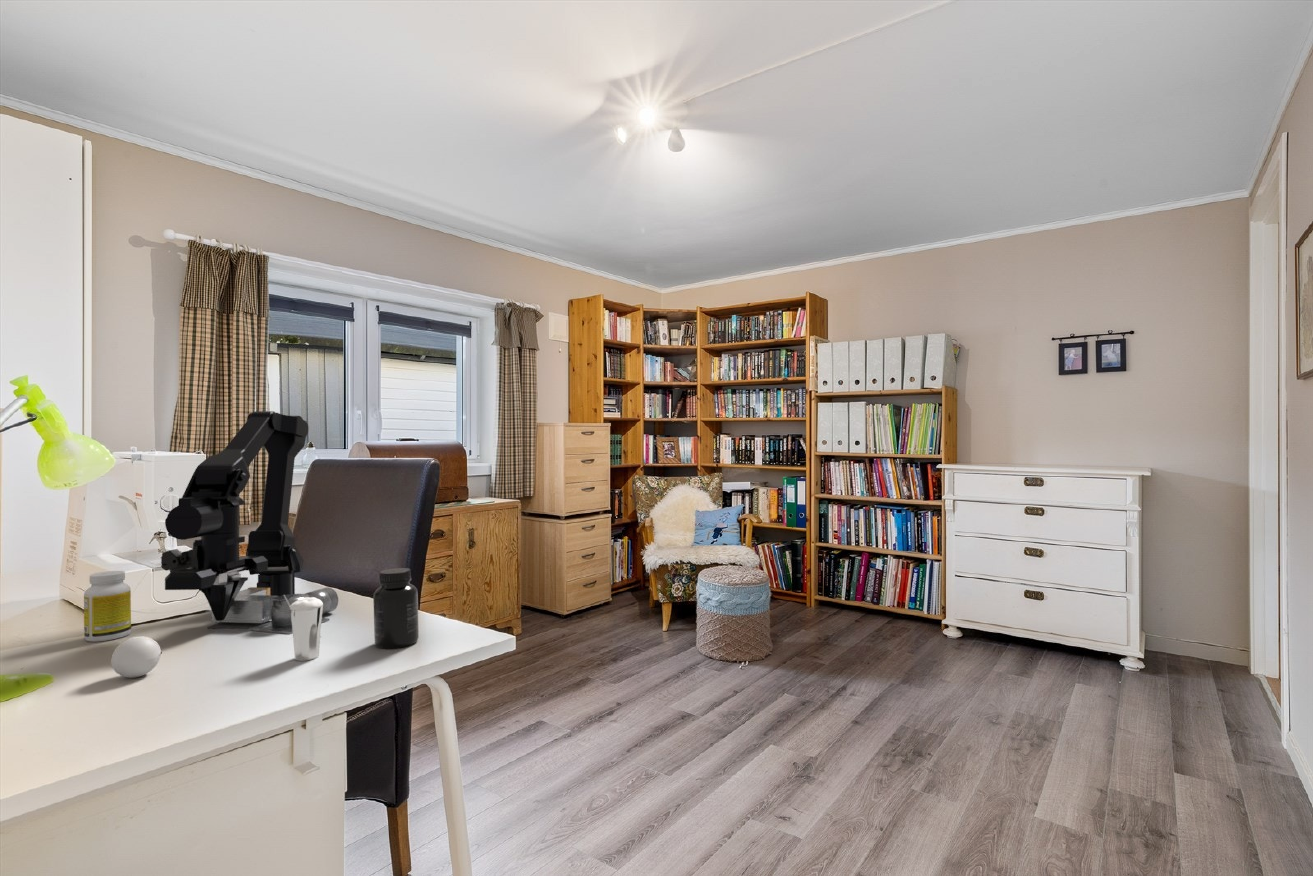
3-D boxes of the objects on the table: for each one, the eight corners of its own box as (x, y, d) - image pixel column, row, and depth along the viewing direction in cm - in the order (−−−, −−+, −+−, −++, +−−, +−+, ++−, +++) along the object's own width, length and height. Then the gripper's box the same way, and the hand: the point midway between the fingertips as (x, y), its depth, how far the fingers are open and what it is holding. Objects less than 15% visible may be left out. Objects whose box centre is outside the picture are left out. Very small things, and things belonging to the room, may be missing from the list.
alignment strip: (275, 622, 121) (275, 620, 121) (262, 628, 117) (262, 626, 117) (222, 622, 121) (222, 620, 121) (207, 628, 117) (207, 627, 117)
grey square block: (298, 609, 127) (298, 588, 127) (262, 623, 117) (262, 600, 117) (250, 608, 128) (250, 587, 128) (211, 622, 118) (211, 599, 118)
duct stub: (309, 610, 128) (309, 585, 128) (347, 614, 126) (347, 588, 126) (249, 630, 115) (249, 602, 115) (290, 634, 113) (289, 605, 113)
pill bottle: (140, 632, 115) (140, 569, 115) (107, 643, 109) (107, 577, 109) (108, 631, 116) (108, 569, 116) (74, 642, 109) (73, 576, 109)
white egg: (162, 677, 93) (162, 637, 93) (110, 687, 89) (110, 646, 89) (160, 663, 99) (160, 626, 99) (112, 671, 95) (111, 633, 95)
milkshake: (287, 655, 101) (286, 591, 102) (325, 651, 103) (324, 588, 103) (281, 664, 97) (280, 598, 97) (321, 660, 99) (320, 594, 99)
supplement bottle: (408, 634, 112) (407, 564, 112) (425, 643, 107) (425, 570, 107) (367, 643, 107) (366, 570, 107) (383, 652, 102) (383, 576, 103)
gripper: (212, 527, 126) (212, 608, 125) (132, 540, 107) (132, 635, 107) (269, 526, 125) (269, 607, 125) (199, 539, 107) (198, 634, 106)
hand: (220, 620), depth 116 cm, fingers closed
